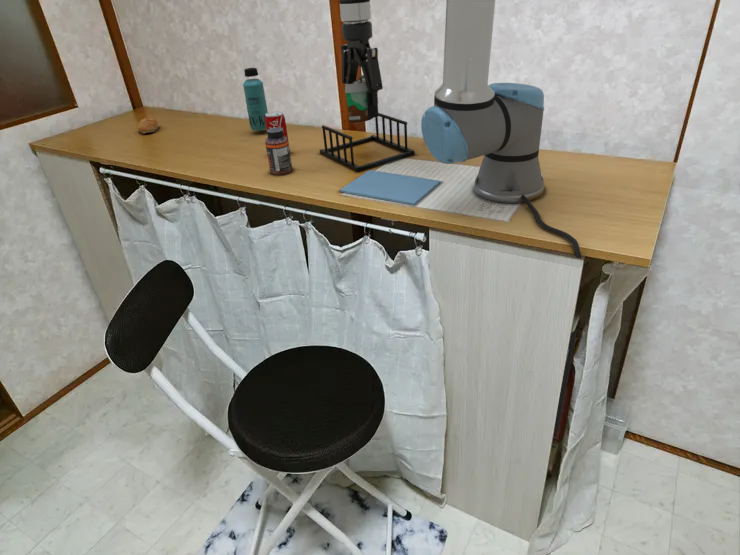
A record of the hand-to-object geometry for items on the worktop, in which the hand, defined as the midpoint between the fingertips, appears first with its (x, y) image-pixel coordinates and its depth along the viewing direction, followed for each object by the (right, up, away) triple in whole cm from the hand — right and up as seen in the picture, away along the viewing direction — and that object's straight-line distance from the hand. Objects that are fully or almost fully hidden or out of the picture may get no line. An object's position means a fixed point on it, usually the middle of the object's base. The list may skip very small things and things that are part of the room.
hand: (363, 114), depth 142 cm
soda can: (-24, -8, +11) cm, 28 cm away
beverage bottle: (-34, +4, +32) cm, 47 cm away
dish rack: (+1, -9, +6) cm, 11 cm away
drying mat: (+7, -22, -15) cm, 28 cm away
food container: (+1, -1, 0) cm, 1 cm away
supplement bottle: (-22, -16, -1) cm, 27 cm away
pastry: (-76, +7, +43) cm, 87 cm away
